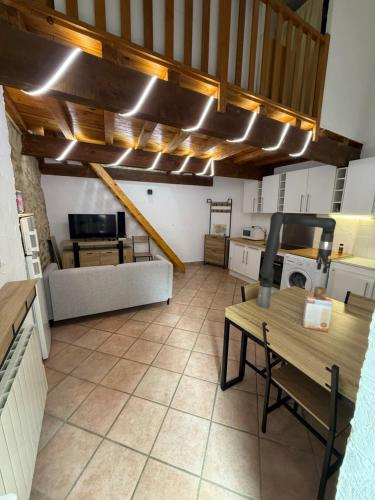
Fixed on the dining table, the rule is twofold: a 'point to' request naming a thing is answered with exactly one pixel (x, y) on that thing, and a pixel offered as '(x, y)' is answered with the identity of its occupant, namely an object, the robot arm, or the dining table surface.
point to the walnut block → (320, 293)
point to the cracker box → (317, 313)
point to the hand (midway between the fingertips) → (321, 271)
